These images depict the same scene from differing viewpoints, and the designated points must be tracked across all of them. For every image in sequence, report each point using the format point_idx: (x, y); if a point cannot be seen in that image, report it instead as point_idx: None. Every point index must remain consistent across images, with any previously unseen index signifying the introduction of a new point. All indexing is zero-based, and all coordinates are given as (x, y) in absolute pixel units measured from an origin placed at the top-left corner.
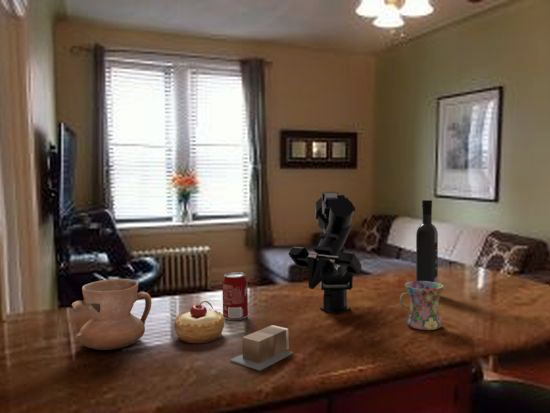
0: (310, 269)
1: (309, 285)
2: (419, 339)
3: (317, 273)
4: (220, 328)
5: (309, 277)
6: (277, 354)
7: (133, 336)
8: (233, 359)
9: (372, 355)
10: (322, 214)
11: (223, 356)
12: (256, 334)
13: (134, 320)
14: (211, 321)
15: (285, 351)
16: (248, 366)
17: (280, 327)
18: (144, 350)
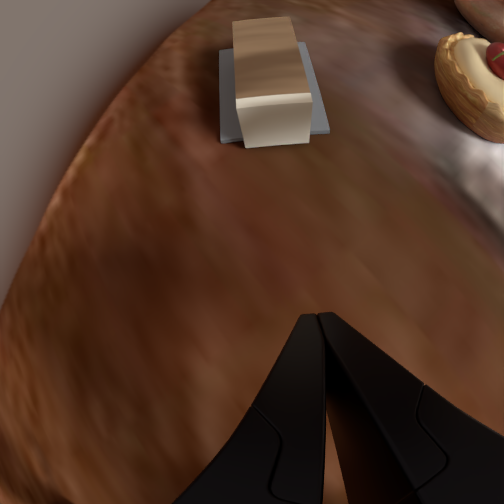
0: (422, 417)
1: (325, 315)
2: (35, 448)
3: (252, 406)
4: (452, 91)
5: (368, 350)
6: None
7: (464, 8)
8: (300, 44)
9: (53, 279)
10: None
11: (340, 52)
12: (277, 37)
13: (496, 12)
14: (460, 61)
15: (238, 129)
16: None
17: (268, 100)
18: (450, 27)
